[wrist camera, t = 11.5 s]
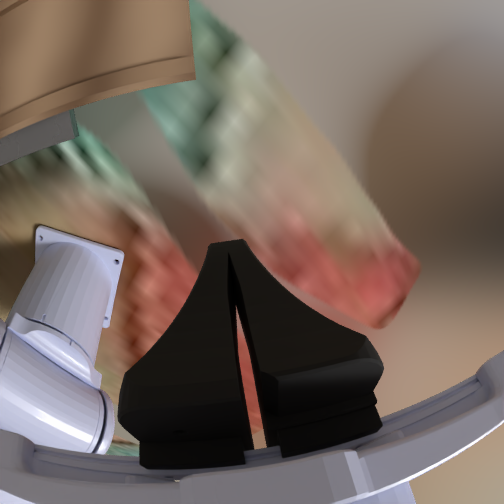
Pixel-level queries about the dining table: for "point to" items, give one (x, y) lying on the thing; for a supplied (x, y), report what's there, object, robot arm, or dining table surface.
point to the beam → (87, 53)
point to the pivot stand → (38, 136)
